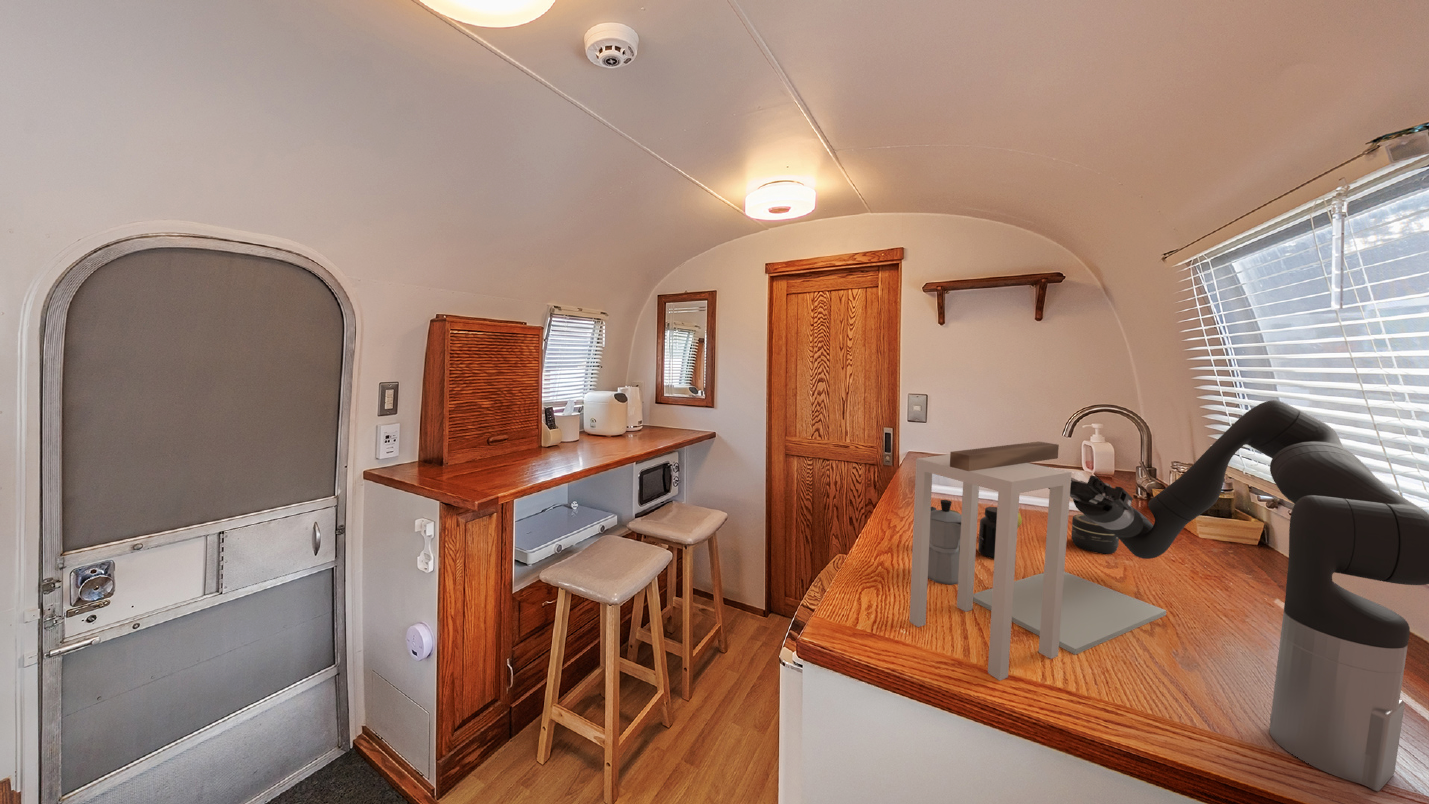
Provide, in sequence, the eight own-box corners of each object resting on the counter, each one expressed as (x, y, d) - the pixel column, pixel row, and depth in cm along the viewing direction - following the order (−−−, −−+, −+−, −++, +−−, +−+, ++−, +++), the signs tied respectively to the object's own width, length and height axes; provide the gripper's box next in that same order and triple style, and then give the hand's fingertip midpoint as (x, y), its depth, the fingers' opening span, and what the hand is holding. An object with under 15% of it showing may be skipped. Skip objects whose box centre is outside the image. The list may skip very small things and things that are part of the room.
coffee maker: (980, 584, 104) (984, 506, 102) (951, 592, 101) (955, 511, 99) (927, 558, 118) (930, 488, 116) (900, 563, 115) (903, 492, 113)
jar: (1113, 544, 126) (1116, 517, 125) (1122, 558, 118) (1125, 529, 117) (1067, 537, 131) (1069, 511, 131) (1073, 550, 123) (1075, 522, 122)
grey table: (1058, 655, 79) (1071, 471, 76) (999, 680, 73) (1011, 481, 70) (963, 604, 95) (971, 451, 92) (909, 621, 89) (916, 458, 86)
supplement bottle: (971, 551, 122) (974, 507, 121) (989, 547, 124) (991, 503, 123) (997, 562, 115) (1000, 515, 114) (1014, 557, 118) (1017, 511, 117)
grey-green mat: (1165, 615, 92) (1166, 610, 91) (1075, 654, 79) (1075, 649, 79) (1056, 572, 110) (1057, 568, 110) (969, 599, 98) (969, 594, 98)
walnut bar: (1057, 458, 86) (1058, 444, 86) (968, 471, 77) (969, 455, 76) (1037, 454, 90) (1038, 441, 89) (949, 466, 80) (950, 451, 80)
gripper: (1072, 481, 104) (1035, 451, 98) (1153, 499, 91) (1116, 465, 85) (1060, 512, 103) (1022, 483, 97) (1139, 534, 90) (1101, 502, 84)
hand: (1066, 475), depth 91 cm, fingers open, 8 cm apart
